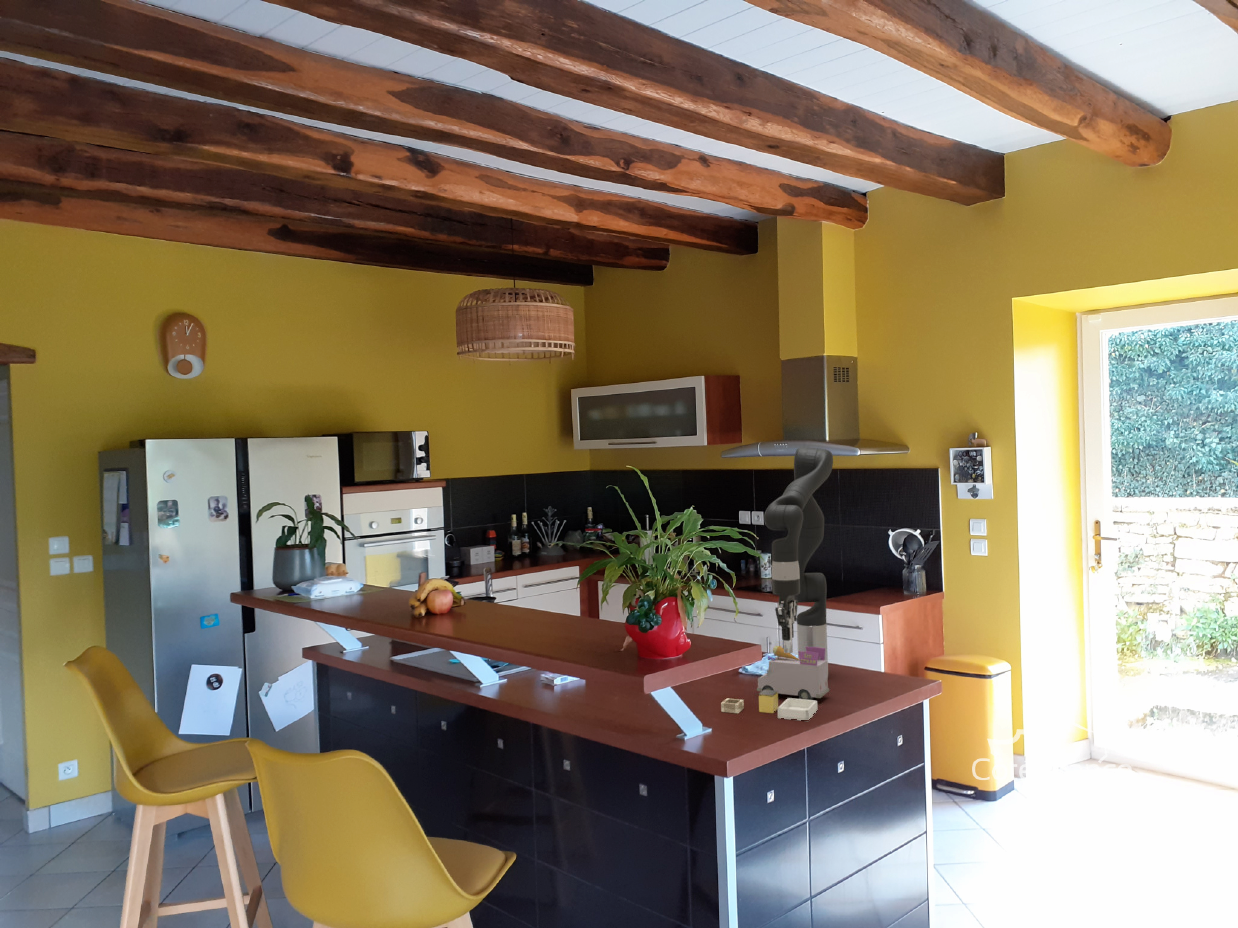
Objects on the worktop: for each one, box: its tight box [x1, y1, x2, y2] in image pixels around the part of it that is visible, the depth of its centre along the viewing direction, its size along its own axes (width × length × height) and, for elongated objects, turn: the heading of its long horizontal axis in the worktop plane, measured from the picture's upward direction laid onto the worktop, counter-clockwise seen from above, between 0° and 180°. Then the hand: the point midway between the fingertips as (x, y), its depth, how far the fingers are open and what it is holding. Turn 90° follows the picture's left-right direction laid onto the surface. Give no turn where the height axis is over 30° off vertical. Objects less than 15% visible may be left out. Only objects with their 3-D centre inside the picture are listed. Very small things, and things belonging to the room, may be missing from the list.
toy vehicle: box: [756, 645, 830, 700], centre depth 274 cm, size 9×20×15 cm, turn 59°
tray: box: [777, 697, 819, 721], centre depth 257 cm, size 10×8×3 cm
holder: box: [720, 698, 745, 714], centre depth 263 cm, size 5×5×2 cm
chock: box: [758, 690, 779, 714], centre depth 262 cm, size 5×4×5 cm
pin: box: [783, 613, 794, 654], centre depth 257 cm, size 3×3×11 cm
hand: (787, 638), depth 257 cm, fingers closed on pin, 2 cm apart
